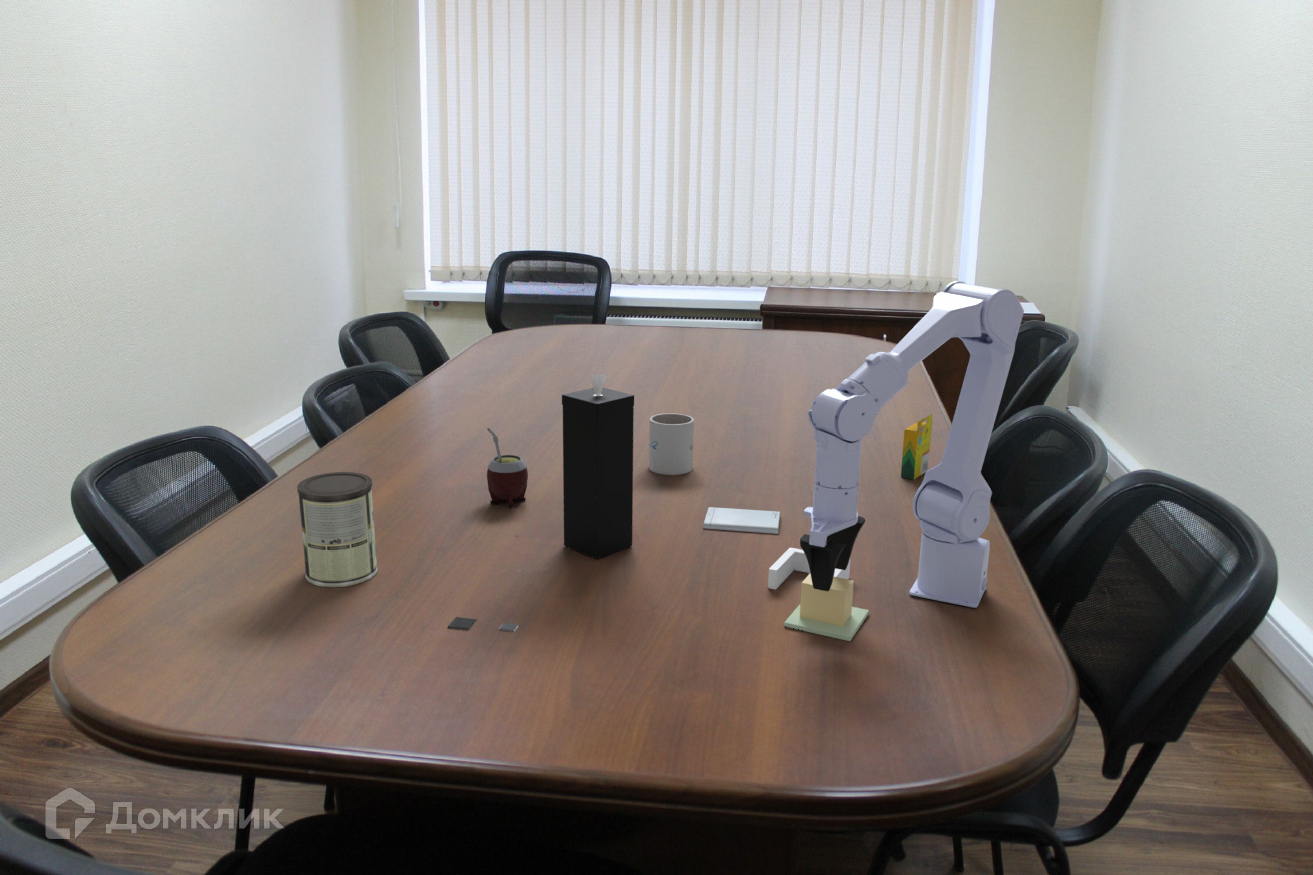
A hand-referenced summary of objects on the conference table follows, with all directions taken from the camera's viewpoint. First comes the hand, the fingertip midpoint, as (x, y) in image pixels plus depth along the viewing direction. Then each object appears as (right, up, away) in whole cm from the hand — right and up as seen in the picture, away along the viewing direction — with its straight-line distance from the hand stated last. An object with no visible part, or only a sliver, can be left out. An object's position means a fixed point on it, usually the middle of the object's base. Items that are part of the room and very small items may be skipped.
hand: (830, 578), depth 137 cm
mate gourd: (-50, +7, +44) cm, 67 cm away
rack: (-1, -2, +13) cm, 14 cm away
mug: (-20, +13, +67) cm, 71 cm away
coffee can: (-70, -1, +14) cm, 71 cm away
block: (0, -5, +2) cm, 6 cm away
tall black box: (-32, +1, +25) cm, 41 cm away
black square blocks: (-48, -7, -1) cm, 49 cm away
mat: (0, -6, +2) cm, 6 cm away
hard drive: (-9, +4, +37) cm, 38 cm away
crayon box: (+27, +11, +64) cm, 70 cm away
